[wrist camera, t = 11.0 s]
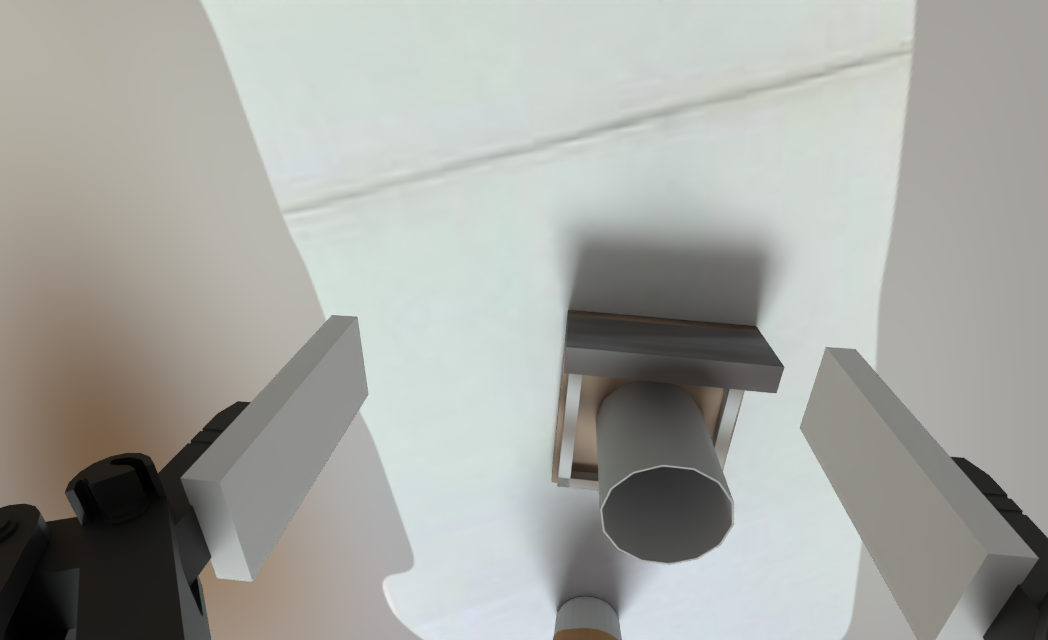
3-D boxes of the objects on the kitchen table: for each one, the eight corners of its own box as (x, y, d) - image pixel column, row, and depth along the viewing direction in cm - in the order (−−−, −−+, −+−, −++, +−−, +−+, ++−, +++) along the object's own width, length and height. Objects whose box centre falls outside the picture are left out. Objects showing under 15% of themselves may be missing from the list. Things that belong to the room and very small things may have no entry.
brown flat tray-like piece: (568, 310, 41) (566, 347, 35) (756, 326, 40) (784, 367, 34) (552, 474, 47) (548, 526, 42) (712, 491, 47) (729, 546, 41)
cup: (712, 385, 41) (749, 474, 32) (690, 469, 45) (719, 570, 36) (601, 374, 42) (608, 458, 33) (589, 458, 45) (592, 555, 36)
